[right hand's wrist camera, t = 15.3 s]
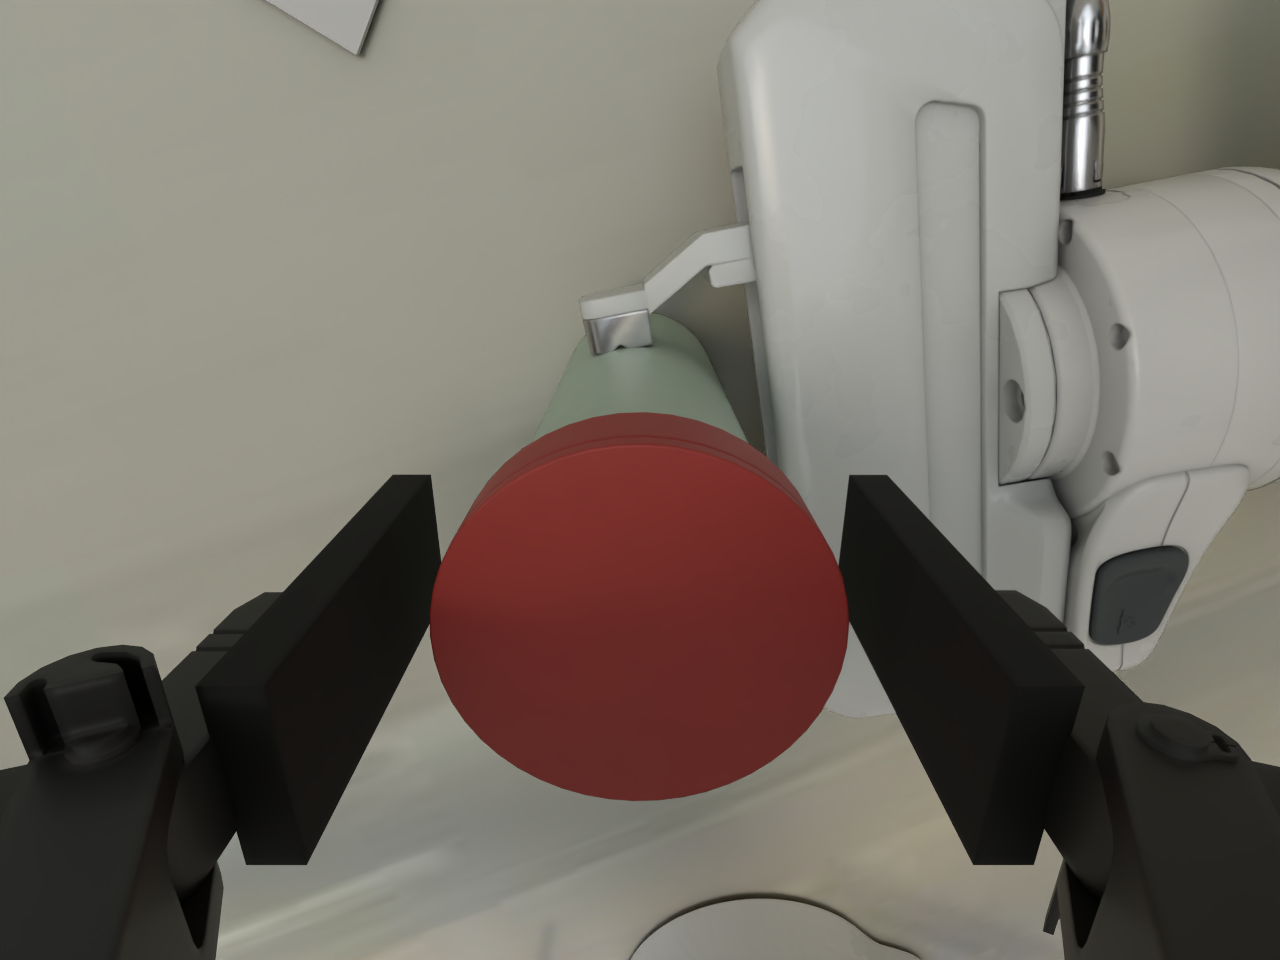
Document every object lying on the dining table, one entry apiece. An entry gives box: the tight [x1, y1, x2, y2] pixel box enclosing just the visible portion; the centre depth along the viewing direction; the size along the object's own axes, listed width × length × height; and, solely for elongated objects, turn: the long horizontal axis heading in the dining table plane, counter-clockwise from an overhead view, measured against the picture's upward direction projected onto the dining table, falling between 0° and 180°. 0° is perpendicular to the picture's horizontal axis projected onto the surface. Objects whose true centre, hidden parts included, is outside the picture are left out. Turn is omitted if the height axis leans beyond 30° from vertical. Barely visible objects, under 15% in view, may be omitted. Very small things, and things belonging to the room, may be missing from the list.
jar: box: [532, 313, 748, 443], centre depth 19 cm, size 6×6×16 cm
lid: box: [430, 412, 849, 801], centre depth 11 cm, size 6×6×2 cm
